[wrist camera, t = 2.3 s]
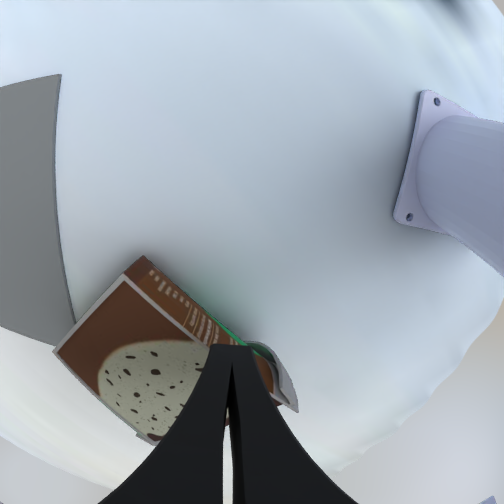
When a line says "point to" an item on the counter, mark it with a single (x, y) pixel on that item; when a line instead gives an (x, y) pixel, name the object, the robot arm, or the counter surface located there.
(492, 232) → the robot arm
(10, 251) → the mat
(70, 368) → the food container
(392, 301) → the counter surface
